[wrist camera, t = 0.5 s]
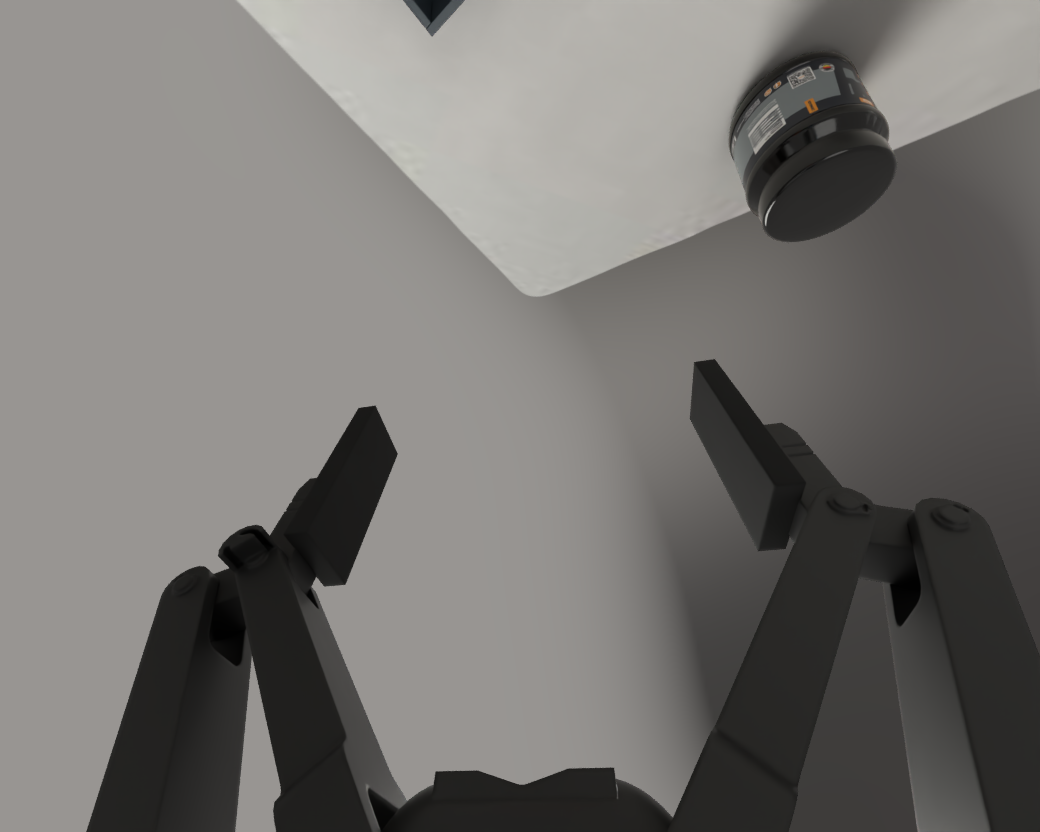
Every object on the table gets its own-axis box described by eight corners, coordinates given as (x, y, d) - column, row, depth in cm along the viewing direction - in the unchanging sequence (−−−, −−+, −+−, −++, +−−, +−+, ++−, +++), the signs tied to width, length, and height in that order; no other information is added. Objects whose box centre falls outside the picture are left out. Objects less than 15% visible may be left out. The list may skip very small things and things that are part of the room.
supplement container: (822, 146, 44) (864, 234, 39) (715, 171, 46) (743, 257, 41) (877, 26, 34) (941, 123, 30) (739, 64, 36) (779, 160, 32)
